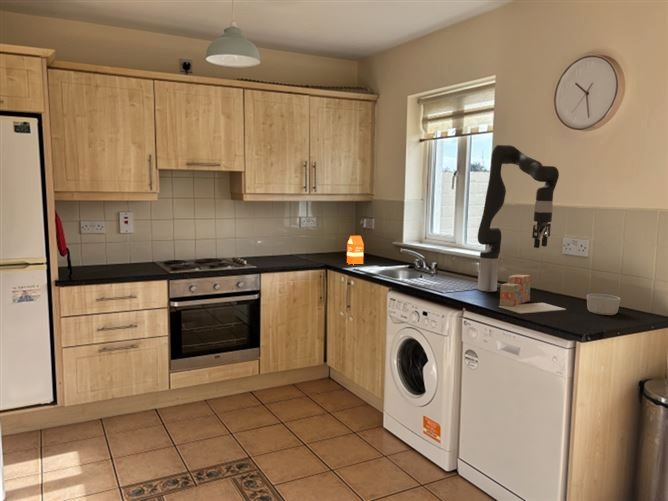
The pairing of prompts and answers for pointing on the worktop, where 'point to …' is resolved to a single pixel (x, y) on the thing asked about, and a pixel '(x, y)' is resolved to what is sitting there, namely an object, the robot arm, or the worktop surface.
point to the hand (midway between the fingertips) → (540, 247)
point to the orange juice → (355, 250)
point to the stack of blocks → (515, 290)
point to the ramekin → (603, 304)
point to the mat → (532, 308)
